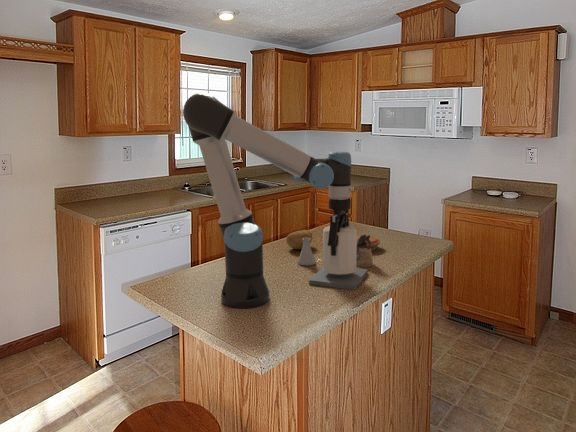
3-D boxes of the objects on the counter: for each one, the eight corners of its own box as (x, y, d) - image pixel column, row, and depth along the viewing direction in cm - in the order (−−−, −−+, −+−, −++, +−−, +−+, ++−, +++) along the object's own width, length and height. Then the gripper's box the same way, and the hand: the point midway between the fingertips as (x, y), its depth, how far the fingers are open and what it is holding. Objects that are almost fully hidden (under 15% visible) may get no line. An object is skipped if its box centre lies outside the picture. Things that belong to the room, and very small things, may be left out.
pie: (355, 242, 219) (356, 231, 218) (386, 247, 209) (387, 236, 208) (336, 249, 207) (337, 238, 206) (368, 256, 197) (368, 244, 196)
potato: (318, 246, 212) (318, 229, 210) (299, 254, 201) (299, 235, 199) (301, 243, 218) (300, 226, 216) (281, 250, 207) (281, 232, 205)
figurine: (361, 260, 191) (362, 231, 188) (376, 264, 186) (377, 234, 183) (350, 264, 186) (350, 234, 183) (365, 268, 181) (365, 237, 178)
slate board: (354, 290, 159) (354, 285, 159) (309, 284, 165) (309, 280, 165) (367, 273, 175) (367, 269, 175) (325, 268, 181) (325, 264, 181)
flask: (314, 266, 184) (314, 241, 182) (295, 265, 186) (295, 240, 184) (317, 261, 191) (317, 236, 189) (299, 260, 192) (299, 236, 190)
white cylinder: (350, 275, 162) (351, 234, 159) (319, 272, 166) (319, 231, 163) (359, 266, 172) (359, 226, 169) (329, 263, 177) (329, 224, 174)
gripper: (340, 204, 152) (340, 270, 157) (359, 192, 173) (358, 251, 178) (317, 203, 155) (318, 268, 159) (339, 191, 176) (338, 249, 181)
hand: (339, 259), depth 169 cm, fingers closed on white cylinder, 11 cm apart
